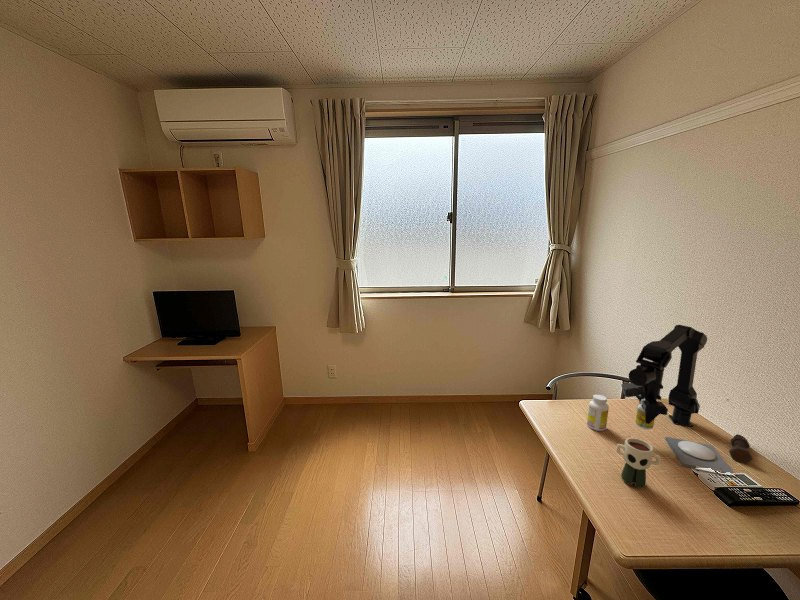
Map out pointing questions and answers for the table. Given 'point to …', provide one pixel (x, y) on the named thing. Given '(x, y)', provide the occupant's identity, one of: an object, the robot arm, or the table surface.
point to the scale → (697, 455)
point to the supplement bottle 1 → (598, 413)
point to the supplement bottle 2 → (642, 418)
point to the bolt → (740, 450)
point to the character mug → (636, 460)
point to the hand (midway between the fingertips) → (645, 419)
